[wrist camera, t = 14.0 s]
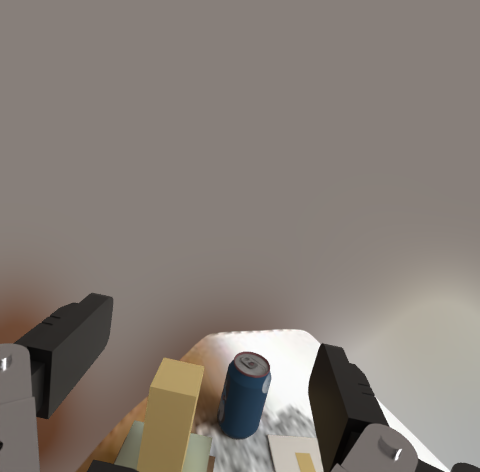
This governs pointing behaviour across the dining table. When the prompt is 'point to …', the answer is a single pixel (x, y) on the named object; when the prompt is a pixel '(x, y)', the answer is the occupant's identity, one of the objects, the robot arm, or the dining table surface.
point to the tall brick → (169, 416)
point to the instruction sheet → (295, 454)
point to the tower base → (196, 460)
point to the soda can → (244, 395)
